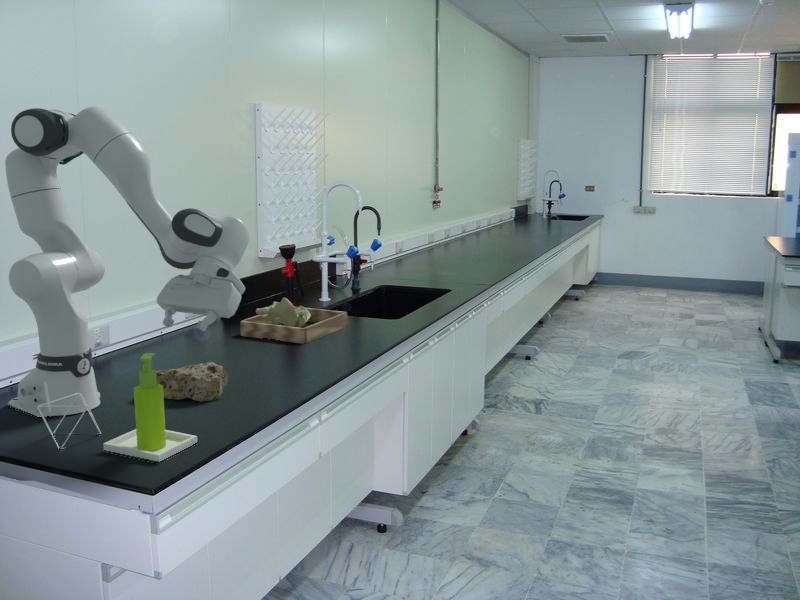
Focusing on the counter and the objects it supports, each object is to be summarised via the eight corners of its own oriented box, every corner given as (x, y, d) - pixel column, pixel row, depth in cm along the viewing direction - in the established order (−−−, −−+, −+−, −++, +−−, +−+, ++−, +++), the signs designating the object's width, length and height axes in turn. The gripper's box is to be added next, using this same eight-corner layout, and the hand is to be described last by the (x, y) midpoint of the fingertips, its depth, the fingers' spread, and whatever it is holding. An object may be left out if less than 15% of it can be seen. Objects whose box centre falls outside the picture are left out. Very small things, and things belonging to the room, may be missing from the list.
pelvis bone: (273, 313, 286) (304, 292, 284) (290, 345, 282) (322, 323, 280) (248, 306, 267) (281, 283, 264) (266, 340, 263) (300, 317, 261)
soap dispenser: (170, 439, 167) (166, 350, 164) (161, 451, 161) (156, 359, 157) (143, 439, 167) (138, 350, 164) (133, 451, 161) (127, 359, 157)
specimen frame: (239, 335, 264) (238, 321, 263) (287, 318, 291) (287, 305, 291) (305, 343, 254) (304, 329, 253) (348, 325, 281) (348, 312, 280)
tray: (103, 451, 162) (103, 443, 162) (144, 433, 173) (143, 425, 172) (159, 463, 156) (158, 455, 156) (197, 443, 167) (197, 436, 166)
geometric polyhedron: (96, 427, 176) (93, 389, 175) (106, 442, 167) (103, 402, 165) (37, 438, 170) (33, 398, 168) (43, 454, 161) (40, 413, 159)
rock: (137, 403, 196) (136, 364, 197) (168, 399, 210) (168, 363, 211) (209, 402, 191) (209, 361, 191) (237, 398, 205) (236, 360, 205)
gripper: (167, 266, 179) (139, 314, 172) (239, 272, 171) (212, 324, 164) (181, 282, 184) (154, 330, 177) (251, 289, 175) (226, 340, 169)
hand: (183, 327), depth 170 cm, fingers open, 8 cm apart
